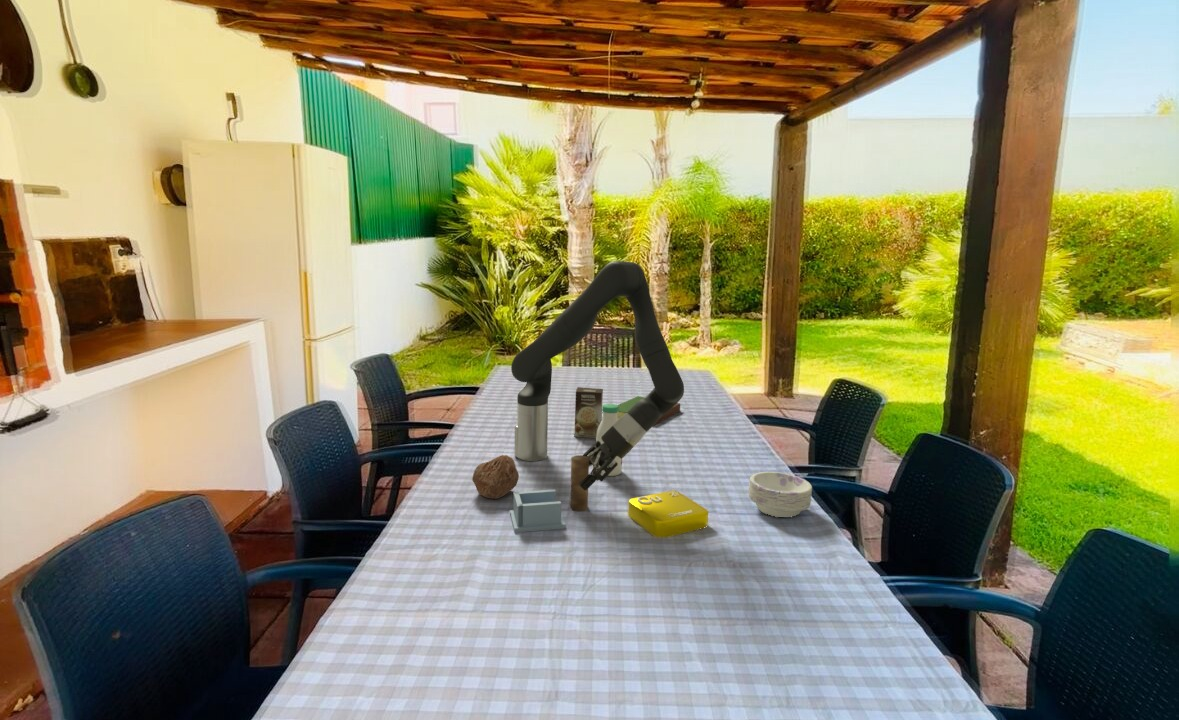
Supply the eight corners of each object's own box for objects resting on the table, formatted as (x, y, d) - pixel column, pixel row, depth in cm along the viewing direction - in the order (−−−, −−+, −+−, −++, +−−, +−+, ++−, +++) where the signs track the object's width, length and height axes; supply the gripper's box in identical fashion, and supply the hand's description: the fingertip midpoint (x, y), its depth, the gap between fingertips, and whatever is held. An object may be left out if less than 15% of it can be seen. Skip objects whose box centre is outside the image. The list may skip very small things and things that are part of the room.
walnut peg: (567, 508, 161) (568, 459, 159) (575, 502, 165) (576, 454, 163) (582, 512, 160) (584, 462, 157) (590, 506, 163) (592, 457, 161)
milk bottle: (619, 478, 183) (621, 410, 179) (592, 475, 184) (594, 408, 180) (623, 468, 190) (626, 403, 186) (597, 466, 191) (599, 401, 188)
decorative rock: (503, 481, 178) (503, 446, 176) (529, 493, 171) (529, 457, 169) (463, 493, 169) (463, 457, 167) (488, 507, 161) (488, 469, 160)
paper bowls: (809, 503, 168) (812, 475, 167) (809, 528, 154) (812, 497, 152) (750, 495, 173) (752, 467, 171) (744, 517, 159) (746, 487, 157)
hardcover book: (652, 427, 233) (653, 417, 233) (608, 418, 243) (608, 409, 242) (680, 412, 254) (681, 403, 254) (638, 404, 264) (638, 395, 263)
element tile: (658, 540, 147) (659, 521, 146) (624, 515, 160) (625, 496, 159) (711, 528, 153) (712, 509, 152) (675, 504, 166) (676, 487, 166)
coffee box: (573, 437, 218) (574, 391, 215) (575, 431, 224) (576, 386, 221) (600, 438, 217) (601, 392, 214) (602, 433, 223) (603, 388, 220)
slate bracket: (514, 532, 148) (514, 508, 147) (509, 514, 157) (509, 491, 156) (565, 528, 151) (566, 504, 150) (558, 510, 160) (558, 487, 159)
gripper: (606, 417, 167) (562, 462, 167) (622, 434, 154) (574, 482, 153) (625, 436, 169) (582, 480, 169) (642, 454, 156) (595, 502, 155)
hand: (578, 481), depth 161 cm, fingers open, 8 cm apart
